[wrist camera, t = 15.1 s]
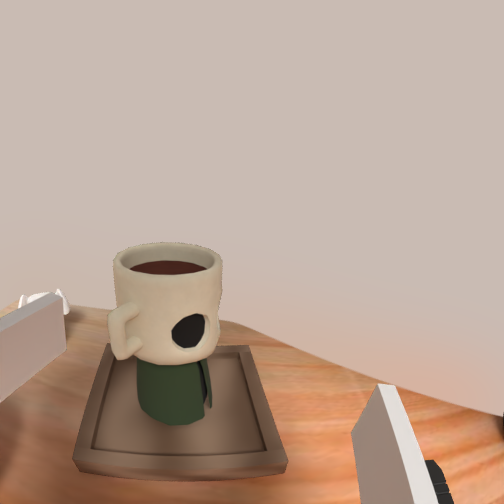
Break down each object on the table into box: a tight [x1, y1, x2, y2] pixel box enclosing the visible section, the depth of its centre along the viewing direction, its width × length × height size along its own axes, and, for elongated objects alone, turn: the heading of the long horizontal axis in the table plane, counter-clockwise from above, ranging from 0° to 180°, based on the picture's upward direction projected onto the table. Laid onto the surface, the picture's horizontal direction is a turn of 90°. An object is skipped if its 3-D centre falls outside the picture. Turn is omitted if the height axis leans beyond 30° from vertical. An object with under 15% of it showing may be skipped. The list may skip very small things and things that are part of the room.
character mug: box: [107, 242, 222, 426], centre depth 21 cm, size 11×7×13 cm, turn 158°
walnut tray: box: [72, 343, 288, 481], centre depth 23 cm, size 15×15×2 cm
